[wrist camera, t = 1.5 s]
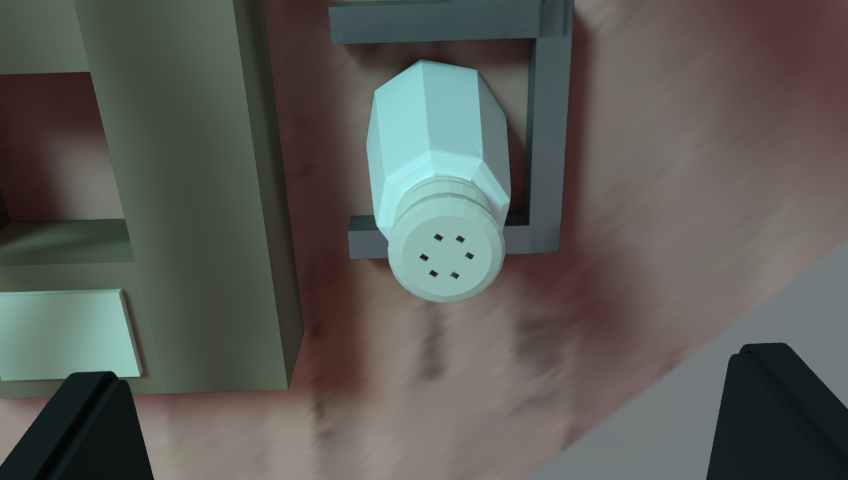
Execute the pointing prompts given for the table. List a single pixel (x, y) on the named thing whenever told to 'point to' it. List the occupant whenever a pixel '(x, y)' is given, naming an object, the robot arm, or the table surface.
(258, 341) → the socket block
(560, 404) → the table surface
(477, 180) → the salt shaker
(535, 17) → the u-shaped bracket
